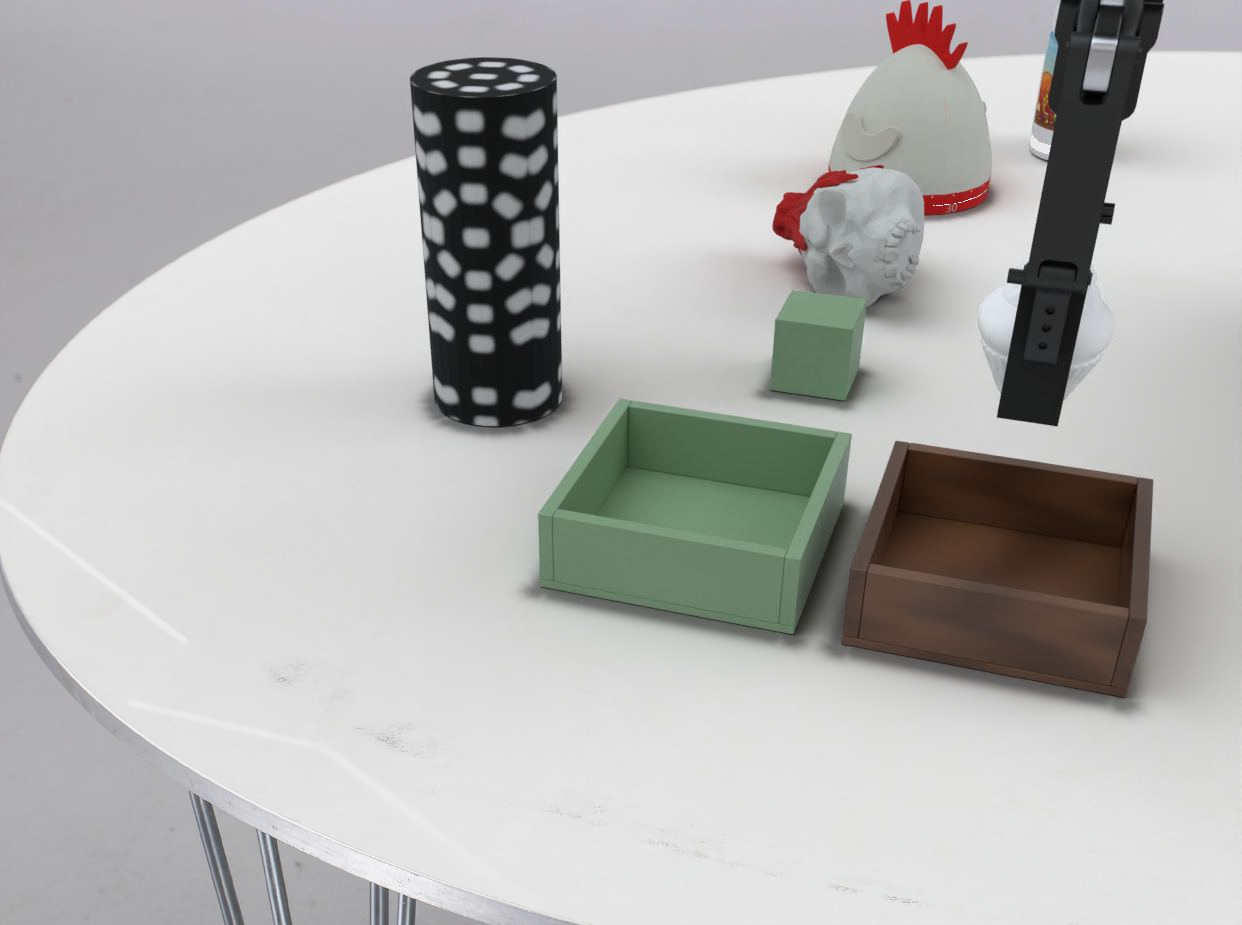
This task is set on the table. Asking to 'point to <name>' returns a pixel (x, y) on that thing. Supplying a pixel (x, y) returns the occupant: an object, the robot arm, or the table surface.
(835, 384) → the green block
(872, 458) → the table surface
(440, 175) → the spotted tube
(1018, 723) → the table surface
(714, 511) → the green bin
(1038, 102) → the milk bottle
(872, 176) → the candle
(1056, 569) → the brown bin
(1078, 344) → the muffin
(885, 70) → the kitchen timer
